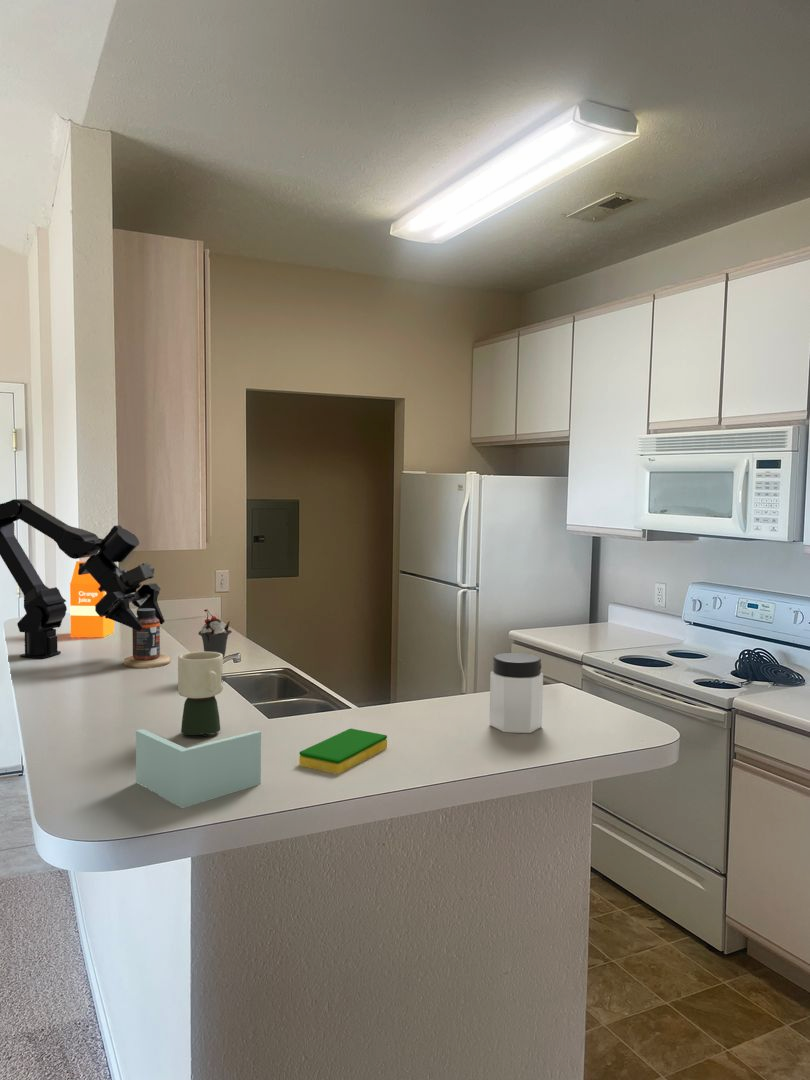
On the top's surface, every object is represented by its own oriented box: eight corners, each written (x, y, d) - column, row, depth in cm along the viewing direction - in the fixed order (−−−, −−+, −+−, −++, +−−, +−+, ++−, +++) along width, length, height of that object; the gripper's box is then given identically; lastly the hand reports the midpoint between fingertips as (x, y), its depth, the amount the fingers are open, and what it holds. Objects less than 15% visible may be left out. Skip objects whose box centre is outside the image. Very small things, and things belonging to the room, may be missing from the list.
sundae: (191, 681, 165) (191, 609, 164) (211, 674, 171) (211, 605, 170) (218, 684, 163) (218, 611, 162) (237, 677, 169) (237, 607, 168)
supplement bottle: (162, 659, 180) (161, 610, 179) (134, 662, 177) (134, 611, 177) (157, 654, 185) (157, 606, 185) (131, 656, 183) (130, 607, 182)
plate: (114, 666, 178) (114, 661, 178) (140, 657, 188) (140, 652, 188) (154, 669, 175) (154, 664, 175) (178, 660, 185) (178, 655, 185)
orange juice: (103, 638, 210) (102, 563, 209) (70, 637, 210) (69, 562, 209) (114, 632, 218) (113, 560, 217) (82, 632, 218) (81, 559, 217)
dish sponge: (388, 749, 125) (388, 734, 125) (338, 777, 113) (338, 760, 113) (350, 742, 128) (350, 727, 128) (297, 767, 116) (298, 751, 116)
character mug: (235, 738, 128) (235, 658, 127) (193, 746, 124) (193, 664, 123) (207, 722, 137) (207, 647, 136) (167, 729, 132) (166, 652, 131)
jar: (550, 730, 134) (552, 660, 134) (510, 736, 131) (511, 664, 130) (520, 716, 142) (522, 650, 142) (481, 722, 139) (483, 654, 138)
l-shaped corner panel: (260, 785, 109) (260, 731, 108) (182, 810, 100) (182, 751, 100) (212, 764, 117) (212, 713, 117) (136, 784, 108) (135, 730, 108)
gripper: (106, 555, 172) (153, 608, 170) (152, 549, 190) (195, 597, 188) (75, 590, 174) (120, 642, 172) (123, 580, 192) (165, 628, 190)
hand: (152, 626), depth 181 cm, fingers open, 9 cm apart
